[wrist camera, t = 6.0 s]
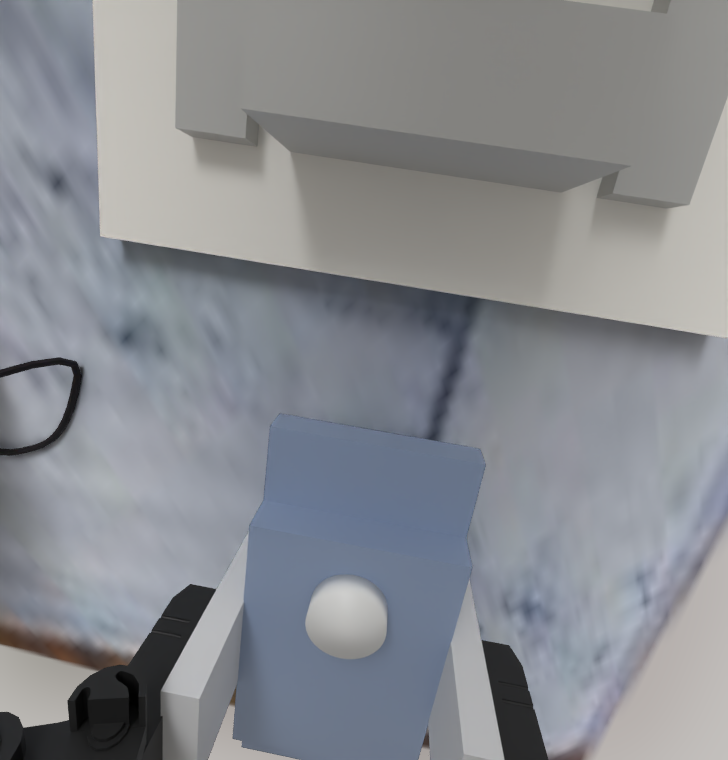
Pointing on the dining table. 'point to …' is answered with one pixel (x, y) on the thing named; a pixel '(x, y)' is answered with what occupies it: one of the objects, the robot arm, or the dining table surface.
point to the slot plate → (391, 207)
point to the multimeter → (70, 404)
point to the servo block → (352, 590)
